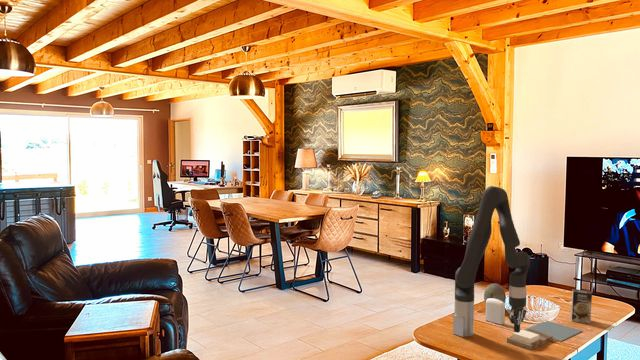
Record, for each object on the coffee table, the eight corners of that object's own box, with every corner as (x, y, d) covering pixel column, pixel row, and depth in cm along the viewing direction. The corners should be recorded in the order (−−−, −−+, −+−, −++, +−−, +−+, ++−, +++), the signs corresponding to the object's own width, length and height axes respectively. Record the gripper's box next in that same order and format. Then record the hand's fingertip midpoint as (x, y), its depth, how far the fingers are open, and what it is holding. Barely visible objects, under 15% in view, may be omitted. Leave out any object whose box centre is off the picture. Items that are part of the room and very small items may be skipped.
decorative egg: (502, 314, 287) (503, 287, 286) (481, 310, 293) (481, 284, 292) (507, 308, 297) (508, 282, 296) (486, 304, 303) (487, 279, 302)
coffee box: (571, 321, 276) (572, 291, 275) (570, 317, 282) (571, 288, 281) (590, 323, 273) (592, 293, 271) (589, 320, 278) (590, 290, 277)
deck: (530, 350, 238) (530, 346, 238) (506, 342, 247) (507, 338, 247) (552, 340, 250) (552, 335, 250) (529, 332, 260) (529, 328, 259)
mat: (560, 341, 248) (560, 340, 248) (523, 330, 263) (523, 329, 263) (582, 331, 262) (582, 330, 262) (546, 321, 277) (546, 320, 276)
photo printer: (483, 320, 277) (484, 297, 276) (488, 318, 280) (489, 295, 279) (501, 325, 269) (502, 302, 268) (505, 323, 272) (506, 300, 271)
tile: (530, 344, 240) (530, 338, 240) (512, 338, 247) (512, 332, 247) (539, 339, 245) (539, 334, 245) (521, 334, 252) (521, 329, 252)
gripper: (517, 299, 232) (517, 337, 233) (532, 293, 241) (532, 330, 242) (502, 296, 238) (501, 333, 239) (517, 290, 246) (516, 326, 248)
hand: (517, 331), depth 240 cm, fingers closed
